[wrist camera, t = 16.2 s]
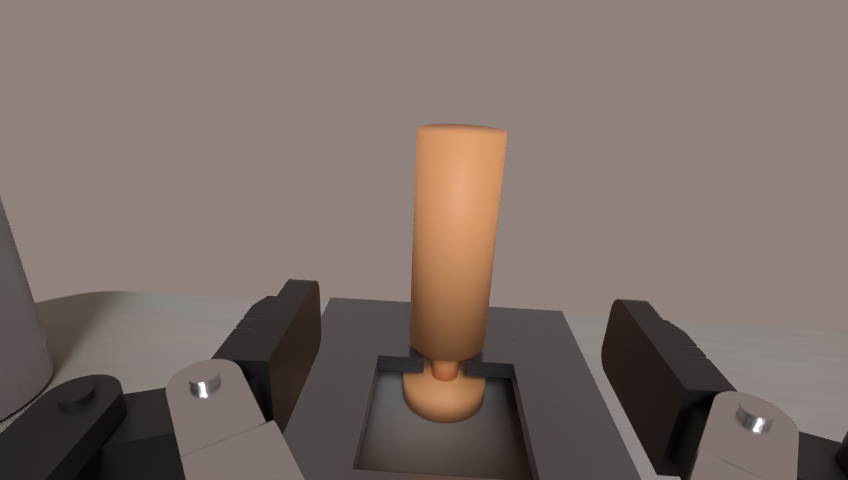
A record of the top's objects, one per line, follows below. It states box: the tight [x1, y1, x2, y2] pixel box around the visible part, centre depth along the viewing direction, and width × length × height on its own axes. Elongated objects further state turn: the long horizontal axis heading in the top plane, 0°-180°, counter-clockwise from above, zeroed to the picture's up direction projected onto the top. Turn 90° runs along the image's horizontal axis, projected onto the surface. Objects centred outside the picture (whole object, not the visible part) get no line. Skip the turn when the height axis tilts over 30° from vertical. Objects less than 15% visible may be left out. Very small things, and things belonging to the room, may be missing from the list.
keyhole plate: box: [283, 298, 641, 480], centre depth 24 cm, size 16×16×4 cm
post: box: [403, 124, 507, 423], centre depth 25 cm, size 5×5×16 cm
